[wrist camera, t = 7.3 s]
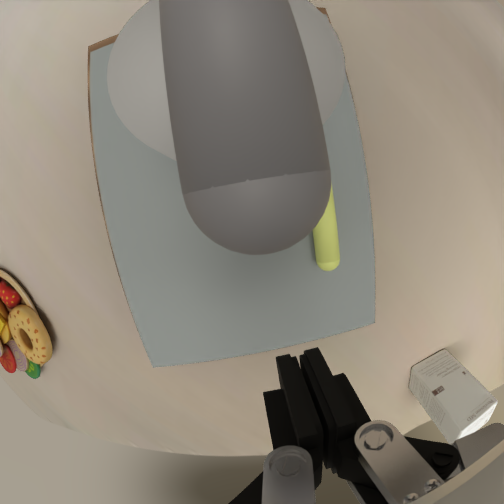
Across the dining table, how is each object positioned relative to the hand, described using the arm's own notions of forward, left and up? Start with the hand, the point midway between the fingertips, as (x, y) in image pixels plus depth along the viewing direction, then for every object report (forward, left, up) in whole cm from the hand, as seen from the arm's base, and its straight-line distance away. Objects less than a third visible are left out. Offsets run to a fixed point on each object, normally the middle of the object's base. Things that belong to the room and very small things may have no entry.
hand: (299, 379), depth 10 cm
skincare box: (+18, +19, -13) cm, 29 cm away
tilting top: (-8, -1, -10) cm, 13 cm away
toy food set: (+1, -29, -13) cm, 31 cm away
